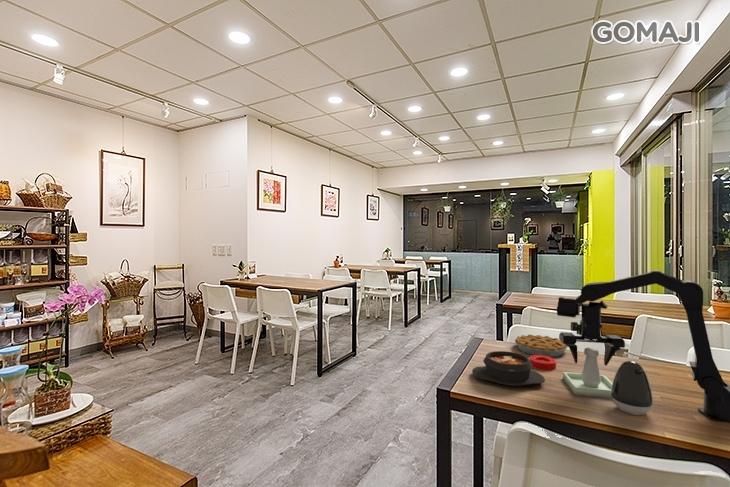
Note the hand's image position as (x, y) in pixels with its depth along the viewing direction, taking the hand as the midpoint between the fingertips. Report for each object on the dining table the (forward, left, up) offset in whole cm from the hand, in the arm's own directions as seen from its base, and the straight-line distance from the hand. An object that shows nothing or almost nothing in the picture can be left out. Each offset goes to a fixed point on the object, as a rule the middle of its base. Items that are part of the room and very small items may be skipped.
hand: (590, 364), depth 124 cm
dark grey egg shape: (-15, -6, -9) cm, 18 cm away
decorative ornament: (+19, +11, -9) cm, 24 cm away
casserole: (+1, +27, -9) cm, 28 cm away
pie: (+40, +7, -9) cm, 42 cm away
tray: (0, 0, -8) cm, 8 cm away
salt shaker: (0, 0, -8) cm, 8 cm away
